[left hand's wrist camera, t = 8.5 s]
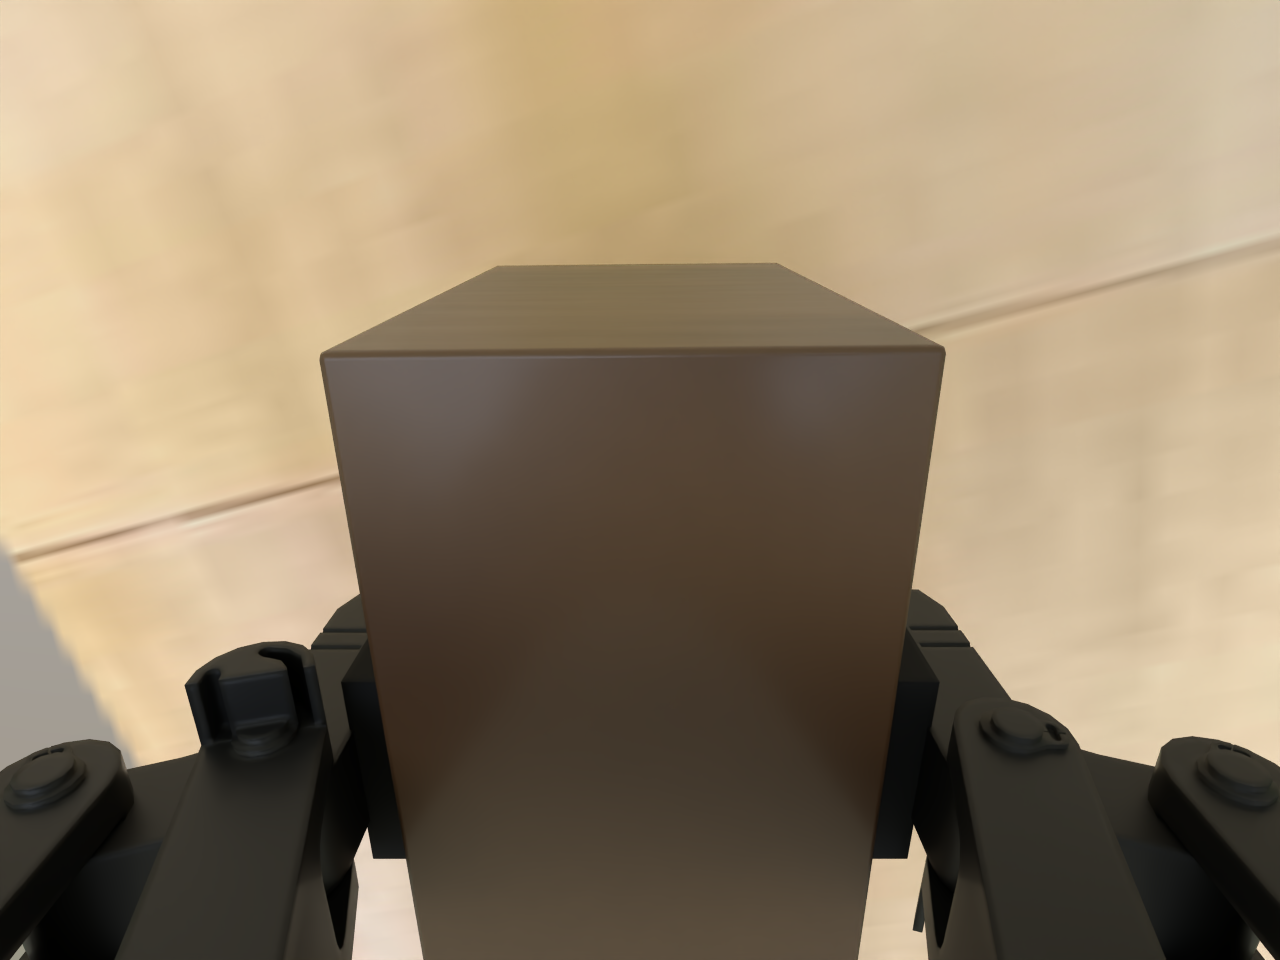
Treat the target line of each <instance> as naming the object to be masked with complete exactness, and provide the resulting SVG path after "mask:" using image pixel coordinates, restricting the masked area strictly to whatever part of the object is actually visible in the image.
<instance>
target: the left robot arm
mask: <svg viewBox="0 0 1280 960" xmlns="http://www.w3.org/2000/svg"><path fill="white" fill-rule="evenodd" d="M185 689H186V692H187V696H188V699H189V703H190V707H191V710H192V714H193V717H194V721H195V724H196V728H197V731H198V735H199V739H200V742H201V748H200V750H199V753H196V754H193V755H189V756H186V757H182V758H178V759H173V760H168V761H164V762H159V763H155V764H150V765H145V766H141V767H136V768H132V769H126V766H125V763H124V760H123V757H122V754H121V751H120V750H119V749H118V748H116V747H115V746H114V745H113V744H111V743H110V742H106V741H99V740H91V739H88V740H80V741H73V742H66V743H62V744H59V745H55V746H51V747H50V748H45V749H42V750H40V751H37V752H34V753H32V754H31V755H29V756H27V757H25V758H23V759H21V760H19V761H17V762H15V763H13V764H11V765H9V766H7V767H6V768H5V769H3V770H2V771H1V772H0V960H10V959H11V957H12V956H13V955H14V954H15V952H16V951H17V950H18V949H19V947H20V946H21V945H22V944H23V946H24V948H25V951H26V952H25V953H24V954H23V955H22V957H21V958H20V959H19V960H352V951H353V941H354V930H355V920H356V909H357V899H358V888H359V886H358V879H357V873H356V868H355V863H354V857H355V854H356V852H357V850H358V847H359V845H360V843H361V840H362V838H363V836H364V833H365V831H366V829H367V827H368V833H369V838H370V843H371V849H372V854H373V859H406V856H405V850H404V844H403V838H402V833H401V827H400V821H399V815H398V809H397V804H396V798H395V792H394V786H393V781H392V775H391V769H390V763H389V758H388V752H387V746H386V740H385V734H384V729H383V723H382V717H381V711H380V706H379V700H378V694H377V688H376V683H375V677H374V671H373V665H372V659H371V654H370V648H369V642H368V636H367V631H366V625H365V619H364V613H363V608H362V602H361V596H360V594H359V595H357V596H356V597H354V598H353V599H352V600H350V601H349V602H347V603H346V604H344V605H343V606H341V607H340V608H338V609H337V610H336V612H335V613H334V615H333V616H332V617H331V619H330V620H329V621H328V623H327V624H326V626H325V627H324V628H323V633H320V634H319V635H318V637H317V638H316V639H315V641H314V642H313V644H312V645H311V650H308V649H307V648H306V647H304V646H303V645H300V644H295V643H291V642H286V641H278V642H261V643H257V644H253V645H248V646H244V647H240V648H237V649H235V650H232V651H230V652H228V653H225V654H223V655H220V656H218V657H216V658H214V659H213V660H211V661H210V662H208V663H207V664H205V665H204V666H202V667H201V668H199V669H198V670H196V672H195V673H194V674H193V675H192V676H191V678H190V679H189V680H188V681H187V683H186V684H185ZM913 825H914V826H915V829H916V831H917V833H918V835H919V838H920V840H921V842H922V845H923V847H924V849H925V852H926V854H927V857H926V863H925V868H924V873H923V878H922V883H921V888H920V893H919V898H918V903H917V908H916V913H915V919H914V925H913V930H914V931H918V932H922V931H923V926H924V921H925V928H926V939H927V949H928V959H929V960H1265V959H1264V958H1263V957H1262V955H1261V954H1260V953H1259V952H1258V950H1257V949H1256V948H1257V946H1258V944H1259V941H1261V943H1262V944H1263V945H1264V946H1265V948H1266V949H1267V950H1268V951H1269V953H1270V954H1271V955H1272V956H1273V958H1274V959H1275V960H1280V767H1279V766H1278V765H1276V764H1275V763H1273V762H1271V761H1269V760H1267V759H1265V758H1263V757H1261V756H1259V755H1257V754H1255V753H1253V752H1251V751H1250V750H1248V749H1245V748H1242V747H1240V746H1237V745H1232V744H1231V743H1227V742H1223V741H1220V740H1216V739H1209V738H1201V737H1194V736H1190V737H1183V738H1175V739H1172V740H1170V741H1169V742H1168V743H1167V744H1165V745H1164V746H1163V747H1161V750H1160V753H1159V756H1158V759H1157V762H1156V765H1155V767H1154V766H1149V765H1145V764H1140V763H1135V762H1131V761H1126V760H1121V759H1117V758H1112V757H1108V756H1103V755H1099V754H1095V753H1092V752H1088V751H1085V750H1081V749H1080V746H1079V744H1078V743H1077V741H1076V740H1075V738H1074V737H1073V736H1072V734H1071V733H1070V731H1069V730H1068V729H1067V728H1066V727H1065V726H1064V725H1062V724H1061V723H1060V722H1058V721H1057V720H1056V719H1055V718H1053V717H1052V716H1051V715H1049V714H1047V713H1045V712H1043V711H1041V710H1039V709H1037V708H1035V707H1033V706H1030V705H1028V704H1025V703H1021V702H1018V701H1014V700H1011V698H1010V697H1009V696H1008V694H1007V693H1006V691H1005V690H1004V689H1003V687H1002V686H1001V685H1000V683H999V682H998V681H997V679H996V678H995V676H994V675H993V674H992V672H991V671H990V670H989V668H988V667H987V666H986V664H985V663H984V661H983V660H982V659H981V657H980V656H979V655H978V653H977V652H976V650H975V649H974V648H973V647H970V642H969V641H968V640H967V638H966V637H965V635H964V634H963V633H962V631H961V630H958V626H957V625H956V623H955V622H954V620H953V619H952V618H951V616H950V615H949V614H948V612H947V611H946V609H945V608H944V607H943V606H942V605H940V604H939V603H937V602H936V601H934V600H933V599H931V598H930V597H928V596H927V595H925V594H924V593H922V592H921V591H919V590H911V596H910V603H909V610H908V617H907V624H906V631H905V637H904V644H903V651H902V658H901V665H900V672H899V679H898V686H897V692H896V699H895V706H894V713H893V720H892V727H891V734H890V741H889V747H888V754H887V761H886V768H885V775H884V782H883V789H882V796H881V803H880V809H879V816H878V823H877V830H876V837H875V844H874V851H873V858H872V859H907V857H908V852H909V847H910V841H911V836H912V830H913Z"/></svg>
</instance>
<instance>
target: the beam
mask: <svg viewBox="0 0 1280 960" xmlns="http://www.w3.org/2000/svg"><path fill="white" fill-rule="evenodd" d="M945 355H946V352H945V348H944V347H943V346H941V345H939V344H937V343H935V342H933V341H931V340H929V339H927V338H925V337H923V336H921V335H919V334H917V333H915V332H913V331H911V330H909V329H907V328H905V327H903V326H901V325H899V324H897V323H895V322H893V321H891V320H889V319H887V318H885V317H883V316H881V315H879V314H877V313H875V312H873V311H871V310H869V309H867V308H865V307H863V306H861V305H859V304H857V303H855V302H853V301H851V300H849V299H847V298H845V297H843V296H841V295H839V294H837V293H835V292H833V291H831V290H829V289H827V288H825V287H823V286H821V285H819V284H817V283H815V282H813V281H811V280H809V279H807V278H805V277H803V276H801V275H799V274H797V273H795V272H793V271H791V270H789V269H787V268H785V267H783V266H781V265H779V264H777V263H731V264H634V265H537V266H496V267H494V268H492V269H490V270H488V271H486V272H484V273H482V274H480V275H478V276H476V277H474V278H472V279H470V280H468V281H466V282H464V283H462V284H460V285H458V286H456V287H454V288H452V289H450V290H448V291H446V292H444V293H442V294H440V295H438V296H436V297H434V298H432V299H430V300H427V301H425V302H423V303H421V304H419V305H417V306H415V307H413V308H411V309H409V310H407V311H405V312H403V313H401V314H399V315H397V316H395V317H393V318H391V319H389V320H387V321H385V322H383V323H381V324H379V325H377V326H375V327H373V328H371V329H369V330H367V331H365V332H363V333H361V334H359V335H357V336H355V337H353V338H351V339H349V340H347V341H345V342H343V343H340V344H338V345H336V346H334V347H332V348H330V349H328V350H326V351H324V352H322V353H321V355H320V365H321V371H322V377H323V383H324V388H325V394H326V400H327V406H328V411H329V417H330V423H331V429H332V435H333V440H334V446H335V452H336V458H337V463H338V469H339V475H340V481H341V486H342V492H343V498H344V504H345V510H346V515H347V521H348V527H349V533H350V538H351V544H352V550H353V556H354V561H355V567H356V573H357V579H358V585H359V590H360V596H361V602H362V608H363V613H364V619H365V625H366V631H367V636H368V642H369V648H370V654H371V659H372V665H373V671H374V677H375V683H376V688H377V694H378V700H379V706H380V711H381V717H382V723H383V729H384V734H385V740H386V746H387V752H388V758H389V763H390V769H391V775H392V781H393V786H394V792H395V798H396V804H397V809H398V815H399V821H400V827H401V833H402V838H403V844H404V850H405V856H406V861H407V867H408V873H409V879H410V884H411V890H412V896H413V902H414V907H415V913H416V919H417V925H418V931H419V936H420V942H421V948H422V954H423V959H424V960H858V954H859V947H860V940H861V933H862V926H863V920H864V913H865V906H866V899H867V892H868V885H869V878H870V871H871V864H872V858H873V851H874V844H875V837H876V830H877V823H878V816H879V809H880V803H881V796H882V789H883V782H884V775H885V768H886V761H887V754H888V747H889V741H890V734H891V727H892V720H893V713H894V706H895V699H896V692H897V686H898V679H899V672H900V665H901V658H902V651H903V644H904V637H905V631H906V624H907V617H908V610H909V603H910V596H911V589H912V582H913V575H914V569H915V562H916V555H917V548H918V541H919V534H920V527H921V520H922V514H923V507H924V500H925V493H926V486H927V479H928V472H929V465H930V458H931V452H932V445H933V438H934V431H935V424H936V417H937V410H938V403H939V397H940V390H941V383H942V376H943V369H944V362H945Z"/></svg>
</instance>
